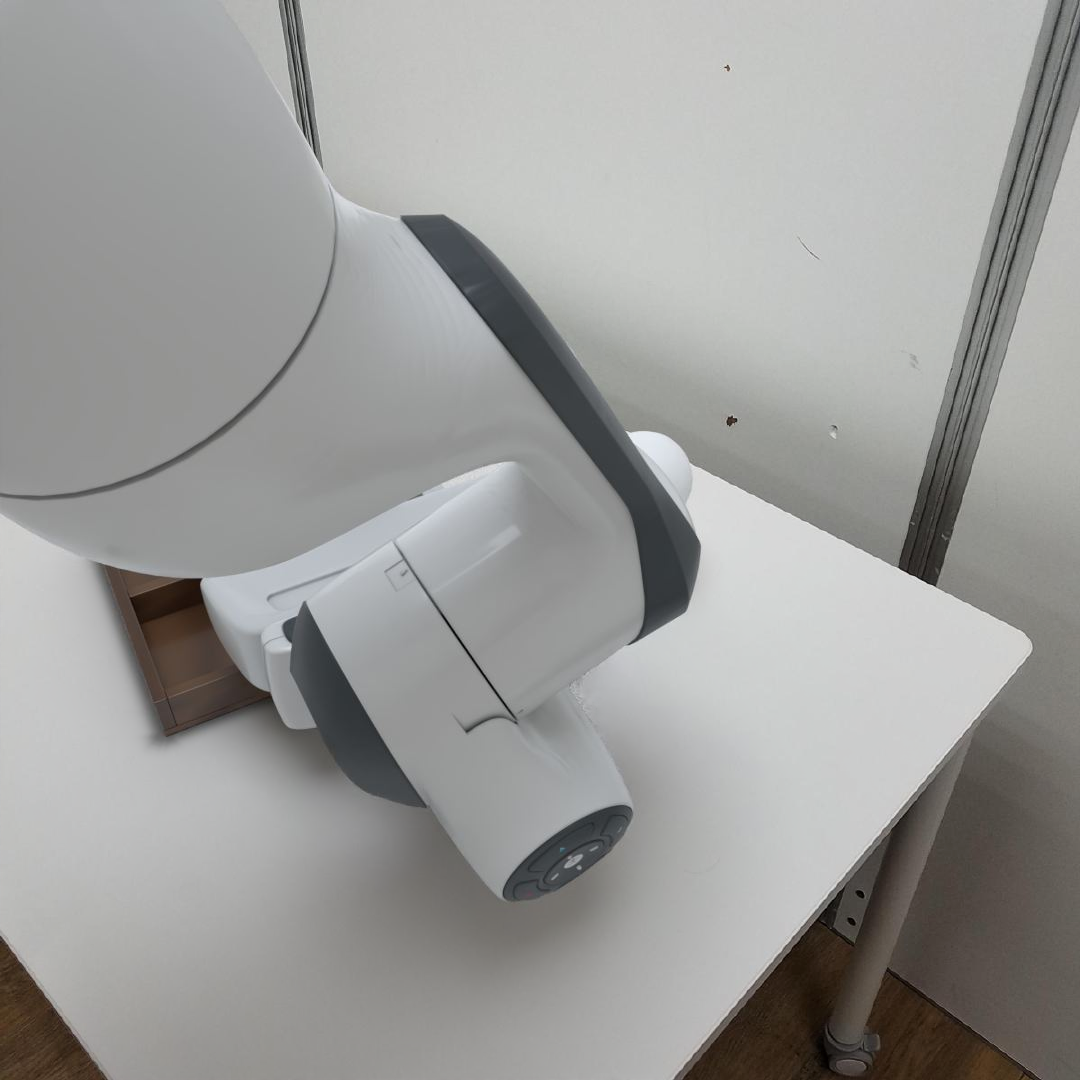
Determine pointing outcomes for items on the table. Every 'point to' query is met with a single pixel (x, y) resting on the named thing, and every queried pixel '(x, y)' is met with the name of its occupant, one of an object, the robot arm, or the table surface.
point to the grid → (179, 649)
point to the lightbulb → (667, 459)
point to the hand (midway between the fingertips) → (339, 490)
